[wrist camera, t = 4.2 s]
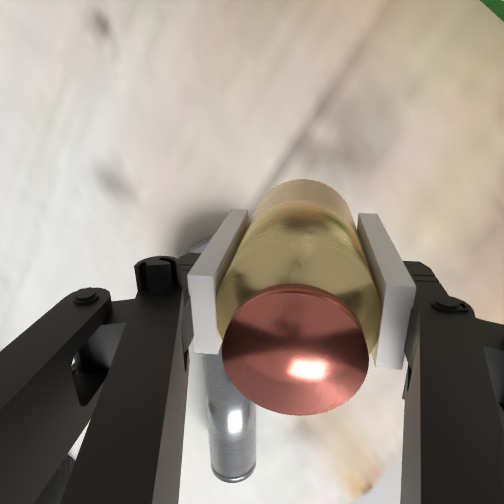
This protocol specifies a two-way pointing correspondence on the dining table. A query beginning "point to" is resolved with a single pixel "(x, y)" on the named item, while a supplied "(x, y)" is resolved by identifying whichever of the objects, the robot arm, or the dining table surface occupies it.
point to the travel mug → (57, 483)
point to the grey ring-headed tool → (227, 417)
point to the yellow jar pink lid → (299, 303)
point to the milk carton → (495, 7)
